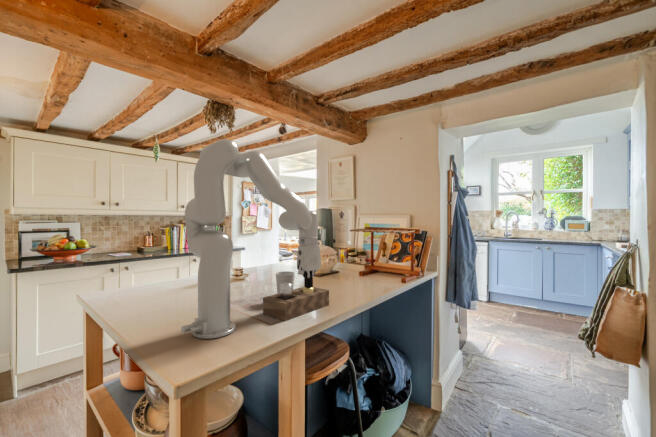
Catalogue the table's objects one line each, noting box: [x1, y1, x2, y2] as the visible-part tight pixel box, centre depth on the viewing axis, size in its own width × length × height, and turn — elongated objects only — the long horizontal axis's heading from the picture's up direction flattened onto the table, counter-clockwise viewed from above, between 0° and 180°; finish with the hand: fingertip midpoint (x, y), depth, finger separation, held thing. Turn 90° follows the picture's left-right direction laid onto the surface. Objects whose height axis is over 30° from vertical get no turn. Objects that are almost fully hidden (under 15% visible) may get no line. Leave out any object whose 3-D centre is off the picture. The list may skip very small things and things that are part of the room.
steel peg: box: [280, 282, 292, 300], centre depth 109 cm, size 4×4×6 cm
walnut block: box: [262, 286, 330, 322], centre depth 114 cm, size 24×12×6 cm, turn 141°
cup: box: [275, 270, 296, 294], centre depth 124 cm, size 8×8×12 cm
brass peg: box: [302, 286, 314, 294], centre depth 118 cm, size 4×4×6 cm
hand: (308, 286), depth 118 cm, fingers closed
